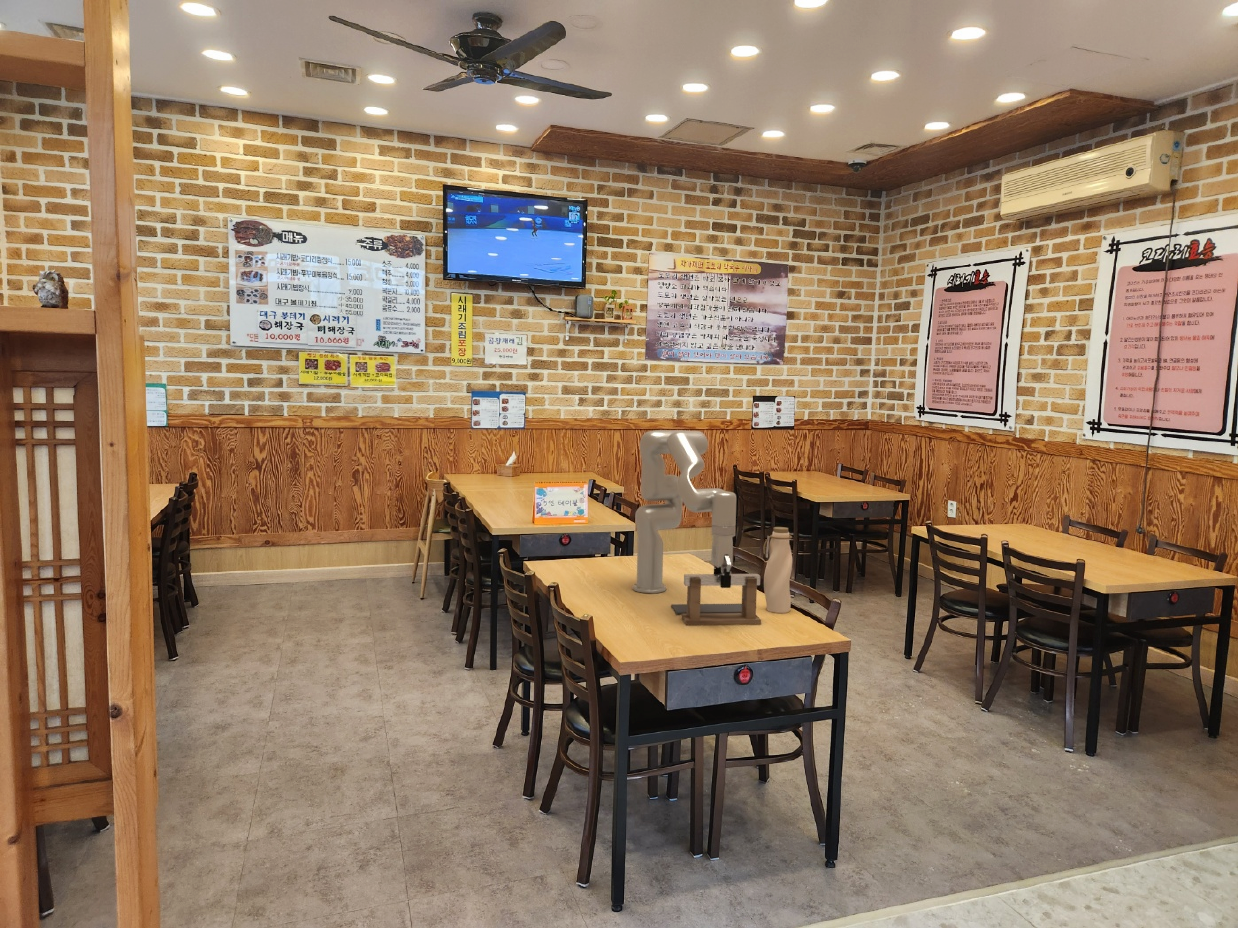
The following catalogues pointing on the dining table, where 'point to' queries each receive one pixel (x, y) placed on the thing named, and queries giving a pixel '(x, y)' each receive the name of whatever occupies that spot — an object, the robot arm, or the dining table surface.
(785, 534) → the water bottle
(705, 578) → the steel rail
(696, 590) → the walnut rack
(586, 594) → the dining table surface
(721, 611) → the black mat
